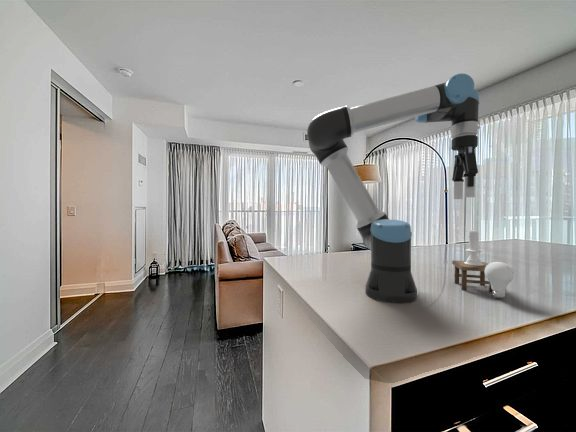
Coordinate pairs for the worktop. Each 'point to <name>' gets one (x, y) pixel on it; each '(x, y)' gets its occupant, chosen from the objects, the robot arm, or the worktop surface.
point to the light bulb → (499, 278)
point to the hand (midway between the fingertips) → (463, 198)
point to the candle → (473, 249)
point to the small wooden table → (465, 268)
